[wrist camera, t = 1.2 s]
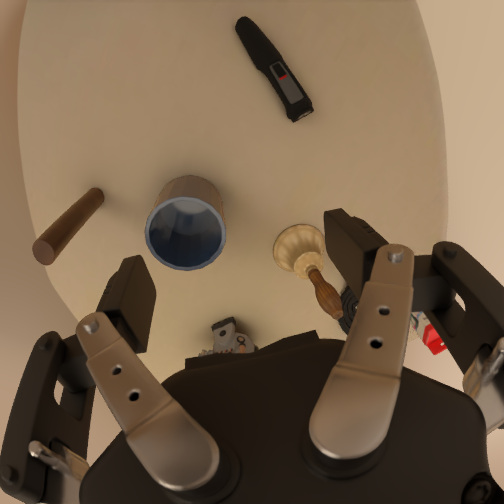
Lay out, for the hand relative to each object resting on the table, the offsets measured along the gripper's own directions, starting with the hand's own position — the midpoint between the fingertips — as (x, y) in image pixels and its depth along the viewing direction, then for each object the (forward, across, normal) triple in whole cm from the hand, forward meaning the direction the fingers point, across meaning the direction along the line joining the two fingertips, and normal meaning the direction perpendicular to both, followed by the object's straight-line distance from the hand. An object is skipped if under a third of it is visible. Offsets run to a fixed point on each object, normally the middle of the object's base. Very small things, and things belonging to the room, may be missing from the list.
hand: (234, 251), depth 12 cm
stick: (+27, +18, +2) cm, 33 cm away
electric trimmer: (+27, -9, -9) cm, 30 cm away
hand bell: (+27, -9, +17) cm, 33 cm away
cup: (+27, +6, +7) cm, 28 cm away
